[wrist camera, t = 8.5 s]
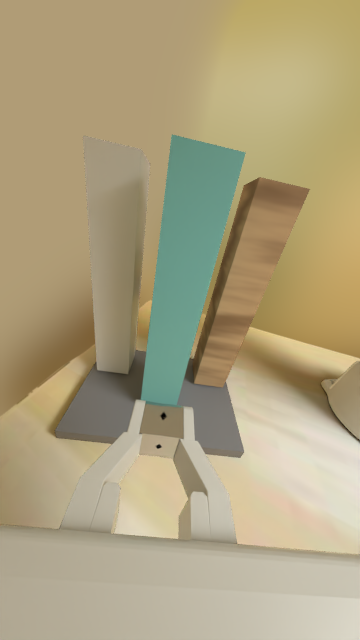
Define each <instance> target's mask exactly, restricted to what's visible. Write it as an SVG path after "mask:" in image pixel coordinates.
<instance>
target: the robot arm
mask: <svg viewBox="0 0 360 640" xmlns="http://www.w3.org/2000/svg"><path fill="white" fill-rule="evenodd" d="M321 385H322V387H323V389H324V390H325V391H326V393H327V395H328V400H329V404H330V406H331V408H332V410H333V412H334V413H335V415H336V416H337V417H338V419H339V420H340V421H341V422H342V423H343V424H344V426H345V427H346V428H347V429H348V430H349V431H350V432H351V433H352V434H354V435H355V436H356V437H357V438H358V439H359V440H360V362H359V361H356V362H355V363H353V364H352V365H351V366H350V367H349V368H348V369H347V370H346V371H345V372H344V373H343V374H342V375H341V376H340V378H339V379H326V380H323V381H322V382H321ZM139 455H148V456H158V457H164V458H171V459H173V461H174V464H175V466H176V469H177V471H178V474H179V476H180V479H181V482H182V484H183V487H184V489H185V492H186V494H187V497H188V501H187V503H186V504H185V506H184V508H183V510H182V512H181V513H180V515H179V532H178V539H171V538H159V537H147V536H135V535H123V534H114V531H115V526H116V521H117V517H118V512H119V502H120V490H121V488H120V486H119V483H120V482H121V480H122V479H123V477H124V476H125V475H126V473H127V472H128V470H129V469H130V468H131V466H132V465H133V464H134V462H135V461H136V459H137V458H138V457H139ZM0 640H360V554H349V553H337V552H325V551H313V550H301V549H290V548H278V547H266V546H254V545H242V544H237V540H236V534H235V528H234V521H233V515H232V509H231V503H230V497H229V493H228V492H227V490H226V488H225V487H224V485H223V483H222V482H221V480H220V478H219V476H218V475H217V473H216V471H215V470H214V468H213V466H212V465H211V463H210V461H209V459H208V458H207V456H206V454H205V453H204V451H203V449H202V448H201V446H200V444H199V443H198V441H195V435H194V416H193V408H192V407H186V406H180V405H172V404H162V403H156V402H150V401H144V400H137V399H136V401H135V404H134V408H133V412H132V415H131V419H130V423H129V427H128V430H127V432H123V433H122V434H121V435H120V436H119V438H118V439H117V440H116V441H115V442H114V443H113V444H112V445H111V446H110V447H109V448H108V449H107V450H106V451H105V452H104V453H103V454H102V455H101V456H100V457H99V458H98V459H97V461H96V462H95V463H94V464H93V465H92V466H91V467H90V468H89V469H88V470H87V471H86V472H85V473H84V474H83V475H82V476H81V477H80V479H79V481H78V484H77V486H76V489H75V491H74V493H73V496H72V498H71V501H70V503H69V506H68V508H67V511H66V513H65V516H64V518H63V520H62V523H61V525H60V528H59V529H52V528H40V527H28V526H16V525H4V524H0Z"/></svg>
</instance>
